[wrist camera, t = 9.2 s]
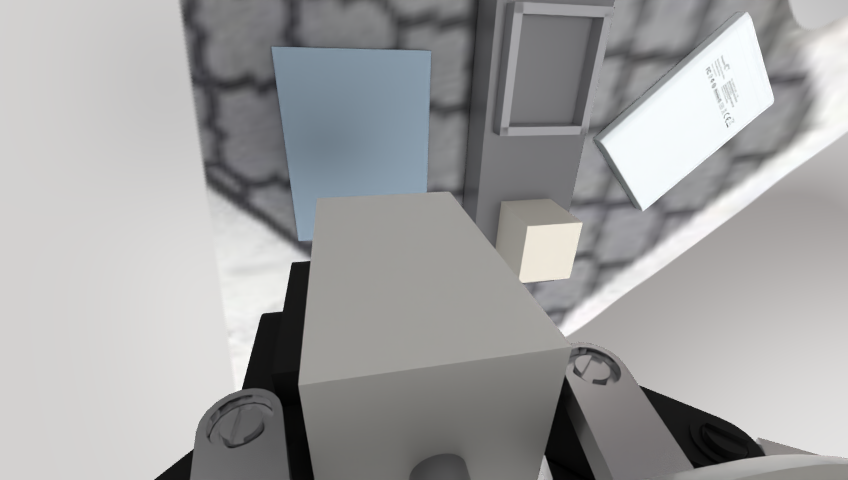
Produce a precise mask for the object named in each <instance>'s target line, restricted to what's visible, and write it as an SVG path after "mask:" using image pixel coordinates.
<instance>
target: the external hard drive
mask: <svg viewBox="0 0 848 480" xmlns="http://www.w3.org/2000/svg"><path fill="white" fill-rule="evenodd" d="M773 102H774V97H773V93H772V90H771V86H770V83H769V80H768V76H767V73H766V69H765V66H764V62H763V58H762V54H761V51H760V47H759V44H758V40H757V37H756V33H755V29H754V26H753V22H752V19H751V17H750V16H749V14H748V13H747V12H738V13H736V14H734V15H733V16H732V17H731V18H730V19H729V20H727V21H726V22H725V23H724V24H723V25H722V26H721V27H720V28H718V29H717V30H716V31H715V32H714V33H713V34H711V35H710V36H709V37H708V38H707V39H706V40H705V41H704V42H702V43H701V44H700V45H699V46H698V47H697V48H696V49H694V50H693V51H692V52H691V53H690V54H689V55H688V56H686V57H685V58H684V59H683V60H682V61H681V62H680V63H678V64H677V65H676V66H675V67H674V68H673V69H672V70H671V71H669V72H668V73H667V74H666V75H665V76H664V77H663V78H661V79H660V80H659V81H658V82H657V83H656V84H655V85H654V86H652V87H651V88H650V89H649V90H648V91H647V92H646V93H644V94H643V95H642V96H641V97H640V98H639V99H638V100H636V101H635V102H634V103H633V104H632V105H631V106H630V107H628V108H627V109H626V110H625V111H624V112H623V113H622V114H621V115H620V116H618V117H617V118H616V119H615V120H614V121H613V122H612V123H610V124H609V125H608V126H607V127H606V128H605V129H604V130H602V131H601V132H600V133H599V134H598V135H597V136H596V137H594V138H593V139H594V141H595V143H596V144H597V146H598V148H599V149H600V151H601V152H602V154H603V156H604V157H605V159H606V161H607V162H608V164H609V165H610V167H611V169H612V170H613V172H614V174H615V175H616V177H617V178H618V180H619V182H620V183H621V185H622V187H623V188H624V190H625V191H626V193H627V195H628V196H629V198H630V200H631V201H632V203H633V205H634V206H635V208H637V209H639V210H641V211H644V210H645V209H646V208H648V207H649V206H650V205H651V204H652V203H654V202H655V201H656V200H657V199H658V198H660V197H661V196H662V195H663V194H664V193H666V192H667V191H668V190H669V189H670V188H672V187H673V186H674V185H675V184H676V183H678V182H679V181H680V180H681V179H682V178H684V177H685V176H686V175H687V174H688V173H690V172H691V171H692V170H693V169H694V168H696V167H697V166H698V165H699V164H700V163H702V162H703V161H704V160H705V159H707V158H708V157H709V156H710V155H711V154H712V153H714V152H715V151H716V150H717V149H718V148H720V147H721V146H722V145H723V144H725V143H726V142H727V141H728V140H729V139H731V138H732V137H733V136H734V135H735V134H737V133H738V132H739V131H740V130H741V129H743V128H744V127H745V126H746V125H747V124H748V123H750V122H751V121H752V120H753V119H754V118H756V117H757V116H758V115H759V114H760V113H762V112H763V111H764V110H765V109H767V108H768V107H769V106H770V105H771V104H773Z"/></svg>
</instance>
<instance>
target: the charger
mask: <svg viewBox="0 0 848 480" xmlns="http://www.w3.org/2000/svg"><path fill="white" fill-rule="evenodd" d="M571 350H572V345H571V344H570V343H569V342H568V340H567V339H566V338H565V337H564V335H563V334H562V333H561V332H560V330H559V329H558V328H557V326H556V325H555V324H554V323H553V321H552V320H551V319H550V318H549V316H548V315H547V314H546V313H545V311H544V310H543V309H542V308H541V306H540V305H539V304H538V303H537V301H536V300H535V299H534V297H533V296H532V295H531V294H530V292H529V291H528V290H527V289H526V287H525V286H524V285H523V284H522V282H521V281H520V280H519V279H518V277H517V276H516V275H515V274H514V272H513V271H512V270H511V268H510V267H509V266H508V265H507V263H506V262H505V261H504V260H503V258H502V257H501V256H500V255H499V253H498V252H497V251H496V250H495V248H494V247H493V246H492V244H491V243H490V242H489V241H488V239H487V238H486V237H485V236H484V234H483V233H482V232H481V231H480V229H479V228H478V227H477V226H476V224H475V223H474V222H473V221H472V219H471V218H470V217H469V215H468V214H467V213H466V212H465V210H464V209H463V208H462V207H461V205H460V204H459V203H458V202H457V200H456V199H455V198H454V197H453V195H452V194H451V193H450V192H430V193H410V194H390V195H369V196H349V197H329V198H317V203H316V213H315V223H314V233H313V243H312V253H311V263H310V273H309V283H308V293H307V303H306V313H305V323H304V333H303V343H302V353H301V363H300V373H299V383H298V387H299V393H300V398H301V404H302V410H303V416H304V422H305V427H306V433H307V439H308V445H309V451H310V456H311V462H312V468H313V474H314V480H537V479H538V475H539V471H540V468H541V464H542V460H543V456H544V452H545V449H546V445H547V441H548V437H549V433H550V430H551V426H552V422H553V418H554V414H555V411H556V407H557V403H558V399H559V395H560V392H561V388H562V384H563V380H564V376H565V372H566V369H567V365H568V361H569V357H570V353H571Z"/></svg>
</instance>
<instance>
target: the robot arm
mask: <svg viewBox="0 0 848 480" xmlns="http://www.w3.org/2000/svg"><path fill="white" fill-rule="evenodd" d="M310 263H311V261H305V262H293V263H292V265H291V270H290V275H289V281H288V286H287V292H286V297H285V302H284V308H283V312H274V313H264V314H262V316H261V318H260V322H259V326H258V330H257V333H256V337H255V341H254V345H253V349H252V352H251V356H250V360H249V364H248V368H247V372H246V375H245V379H244V383H243V387H242V390H240V391H237V392H235V393H232V394H229V395H228V396H226V397H224V398H222V399H221V400H219V401H218V402H216V403H215V404H214V405H213V406H212V407H211V408H210V409H209V410H207V411H206V413H205V414H204V416H203V417H202V419H201V420H200V422H199V424H198V428H197V431H196V436H195V444H194V449H193V450H192V451H190V452H189V453H188V454H186V455H185V456H184V457H183V458H181V459H180V460H179V461H178V462H176V463H175V464H174V465H172V467H170V468H169V469H167V470H166V471H165V472H163V473H162V474H161V475H160V476H158V477H157V478H156V479H155V480H314V474H313V468H312V462H311V456H310V451H309V445H308V439H307V433H306V427H305V422H304V416H303V410H302V404H301V398H300V393H299V387H298V383H299V373H300V363H301V353H302V343H303V333H304V323H305V313H306V303H307V293H308V283H309V273H310ZM571 345H572V350H571V353H570V357H569V361H568V365H567V369H566V372H565V376H564V380H563V384H562V388H561V392H560V395H559V399H558V403H557V407H556V411H555V414H554V418H553V422H552V426H551V430H550V433H549V437H548V441H547V445H546V449H545V452H544V456H543V460H542V464H541V468H540V469H541V472H542V475H543V479H544V480H848V459H847V458H842V457H834V456H821V455H817V454H813V453H810V452H806V451H803V450H800V449H796V448H793V447H789V446H786V445H782V444H779V443H775V442H772V441H768V440H765V439H761V438H758V439H757V440H756V442H755V441H754V440H753V439H752V438H751V437H749V436H748V435H747V434H746V433H745V432H744V431H742V430H741V429H739V428H738V427H736V426H735V425H733V424H731V423H729V422H727V421H725V420H723V419H721V418H719V417H717V416H714V415H711V414H709V413H706V412H704V411H702V410H699V409H696V408H694V407H692V406H689V405H686V404H684V403H682V402H679V401H677V400H674V399H672V398H669V397H667V396H664V395H662V394H659V393H656V392H654V391H652V390H649V389H647V388H644V387H642V386H639V385H638V383H637V382H636V381H635V379H634V377H633V376H632V374H631V373H630V371H629V370H628V368H627V367H626V366H625V364H624V363H623V362H622V361H621V360H620V358H618V357H617V356H616V355H615V354H613V353H612V352H610V351H609V350H607V349H605V348H603V347H600V346H597V345H594V344H591V343H582V342H579V343H572V344H571Z"/></svg>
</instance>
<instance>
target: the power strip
mask: <svg viewBox="0 0 848 480" xmlns="http://www.w3.org/2000/svg"><path fill="white" fill-rule="evenodd" d="M614 1H615V0H479V3H478V16H477V29H476V42H475V54H474V67H473V80H472V93H471V106H470V119H469V132H468V145H467V158H466V170H465V183H464V196H463V209H464V210H465V212H466V213H467V214H468V215H469V217H470V218H471V219H472V221H473V222H474V223H475V224H476V226H477V227H478V228H479V229H480V231H481V232H482V233H483V234H484V236H485V237H486V238H487V239H488V241H489V242H490V243H491V244H492V246H493V247H494V248H495V250H496V251H497V252H498V253H499V255H500V256H501V257H502V258H503V260H504V261H505V262H506V263H507V265H508V266H509V267H510V268H511V270H512V271H513V272H514V274H515V275H516V276H517V277H518V279H519V280H520V281H521V282H522V284H529V283H538V282H548V281H554V280H556V279H566V278H570V274H571V270H572V265H573V261H574V257H575V253H576V249H577V244H578V240H579V236H580V232H581V228H582V223H583V222H581V221H580V220H579V219H577V218H576V217H575V216H573V215H572V214H570V213H569V209H570V204H571V200H572V195H573V190H574V186H575V181H576V176H577V172H578V167H579V163H580V158H581V153H582V149H583V144H584V139H585V135H586V134H587V132H588V128H589V123H590V118H591V114H592V109H593V105H594V100H595V95H596V91H597V86H598V82H599V77H600V72H601V68H602V63H603V59H604V54H605V50H606V45H607V40H608V36H609V31H610V27H611V22H612V17H613V13H614V8H615V7H613V5H614Z"/></svg>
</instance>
